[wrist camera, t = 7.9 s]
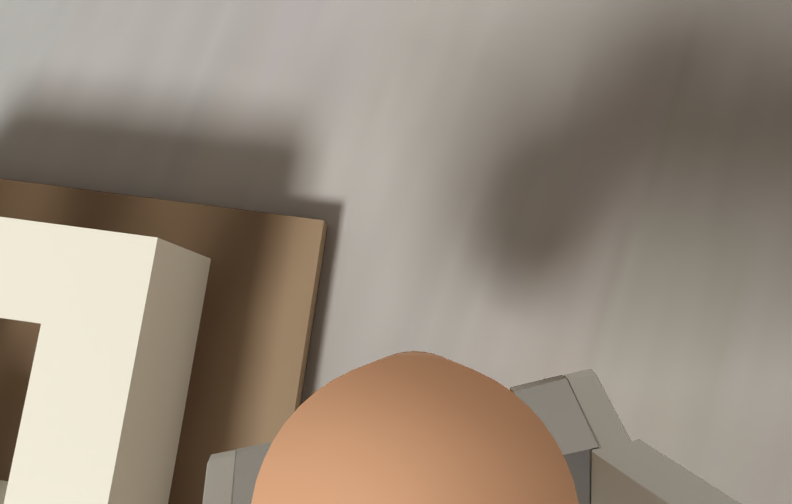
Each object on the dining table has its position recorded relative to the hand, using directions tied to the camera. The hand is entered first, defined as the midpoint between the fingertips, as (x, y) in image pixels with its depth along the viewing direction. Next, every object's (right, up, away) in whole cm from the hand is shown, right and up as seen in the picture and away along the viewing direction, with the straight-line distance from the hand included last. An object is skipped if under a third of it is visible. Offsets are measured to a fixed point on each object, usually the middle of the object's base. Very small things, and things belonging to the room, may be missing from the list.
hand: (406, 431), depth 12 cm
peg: (0, -1, +6) cm, 6 cm away
